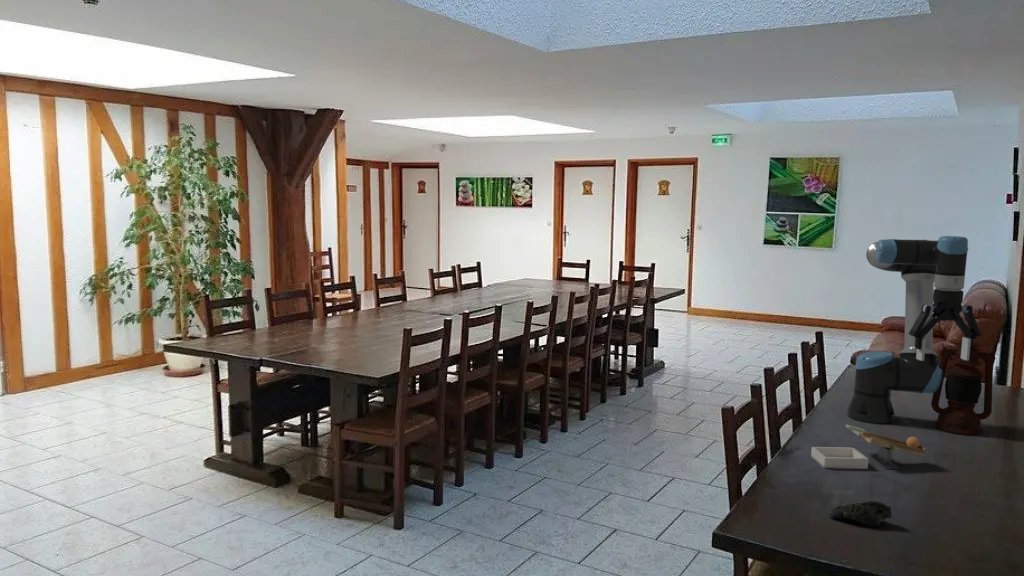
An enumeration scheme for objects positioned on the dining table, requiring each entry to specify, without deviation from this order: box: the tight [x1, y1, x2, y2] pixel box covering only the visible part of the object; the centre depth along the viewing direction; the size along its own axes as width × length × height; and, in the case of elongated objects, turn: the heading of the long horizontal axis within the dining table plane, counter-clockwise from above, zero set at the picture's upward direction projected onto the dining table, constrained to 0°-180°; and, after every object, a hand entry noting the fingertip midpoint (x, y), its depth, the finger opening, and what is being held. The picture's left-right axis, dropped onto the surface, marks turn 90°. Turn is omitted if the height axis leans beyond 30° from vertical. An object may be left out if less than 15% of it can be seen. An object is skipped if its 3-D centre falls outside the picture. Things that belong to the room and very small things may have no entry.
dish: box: [810, 446, 869, 470], centre depth 210 cm, size 9×12×3 cm
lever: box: [845, 424, 927, 457], centre depth 213 cm, size 16×16×2 cm
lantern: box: [930, 339, 997, 437], centre depth 241 cm, size 17×14×30 cm
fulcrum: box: [869, 445, 900, 470], centre depth 210 cm, size 9×4×5 cm, turn 179°
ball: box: [905, 436, 921, 448], centre depth 209 cm, size 4×4×4 cm
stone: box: [828, 500, 892, 528], centre depth 171 cm, size 7×13×5 cm, turn 72°
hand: (942, 359), depth 214 cm, fingers open, 13 cm apart
